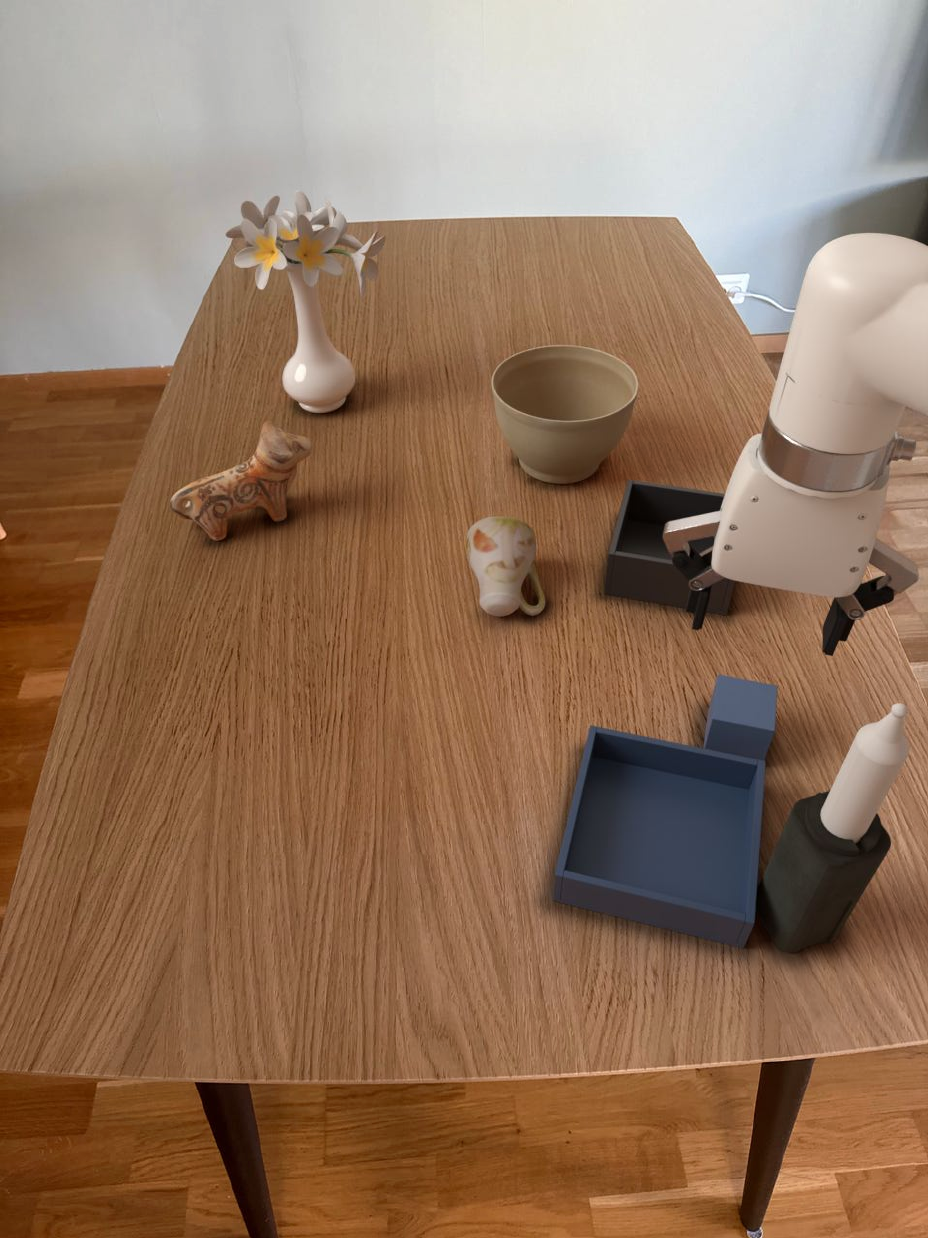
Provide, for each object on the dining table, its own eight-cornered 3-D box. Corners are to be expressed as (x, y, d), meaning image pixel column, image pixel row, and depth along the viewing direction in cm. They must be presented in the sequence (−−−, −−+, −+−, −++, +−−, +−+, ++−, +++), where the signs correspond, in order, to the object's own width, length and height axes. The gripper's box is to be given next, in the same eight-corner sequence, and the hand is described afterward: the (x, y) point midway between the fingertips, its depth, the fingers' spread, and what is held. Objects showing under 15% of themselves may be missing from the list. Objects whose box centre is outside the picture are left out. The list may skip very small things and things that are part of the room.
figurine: (331, 514, 102) (318, 439, 95) (191, 560, 98) (166, 485, 90) (310, 482, 107) (296, 408, 100) (174, 524, 102) (150, 450, 95)
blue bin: (755, 789, 76) (765, 761, 73) (743, 948, 66) (754, 923, 64) (586, 753, 79) (590, 724, 76) (552, 901, 69) (554, 875, 67)
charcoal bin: (735, 537, 98) (745, 496, 94) (726, 615, 90) (737, 574, 86) (622, 519, 101) (627, 479, 97) (603, 594, 92) (608, 553, 88)
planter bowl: (651, 487, 104) (663, 405, 97) (517, 515, 101) (518, 433, 94) (597, 412, 115) (605, 333, 107) (475, 436, 112) (473, 356, 105)
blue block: (765, 721, 81) (777, 685, 77) (762, 767, 77) (775, 731, 74) (708, 710, 82) (717, 673, 78) (702, 754, 78) (712, 718, 75)
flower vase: (389, 430, 114) (369, 229, 96) (245, 424, 115) (199, 225, 98) (405, 375, 123) (390, 182, 105) (272, 370, 124) (235, 179, 106)
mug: (465, 632, 90) (445, 533, 87) (486, 602, 98) (468, 512, 96) (540, 623, 87) (522, 522, 85) (554, 593, 96) (538, 501, 94)
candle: (781, 958, 66) (888, 753, 48) (747, 895, 69) (835, 682, 51) (844, 938, 67) (972, 730, 49) (807, 877, 70) (913, 662, 52)
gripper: (964, 431, 58) (879, 617, 71) (690, 392, 62) (654, 576, 74) (976, 503, 53) (882, 689, 66) (677, 457, 57) (641, 642, 69)
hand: (761, 629), depth 70 cm, fingers open, 9 cm apart
